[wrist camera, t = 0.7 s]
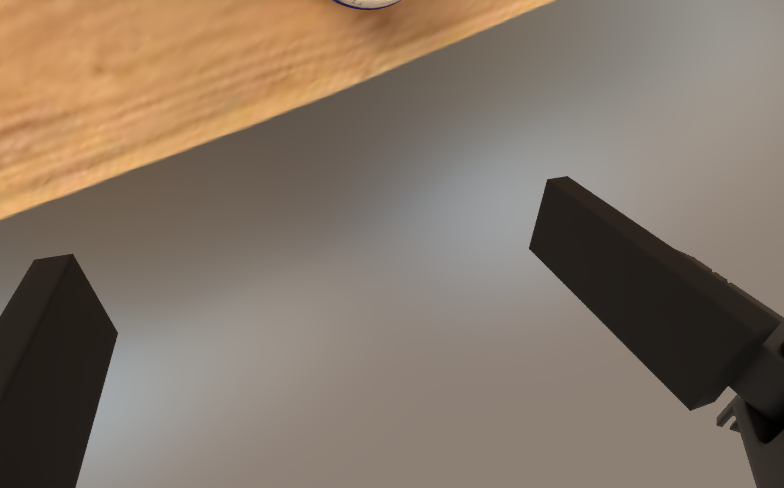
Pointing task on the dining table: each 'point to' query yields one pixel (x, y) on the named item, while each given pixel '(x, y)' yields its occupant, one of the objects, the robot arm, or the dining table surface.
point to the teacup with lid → (367, 4)
